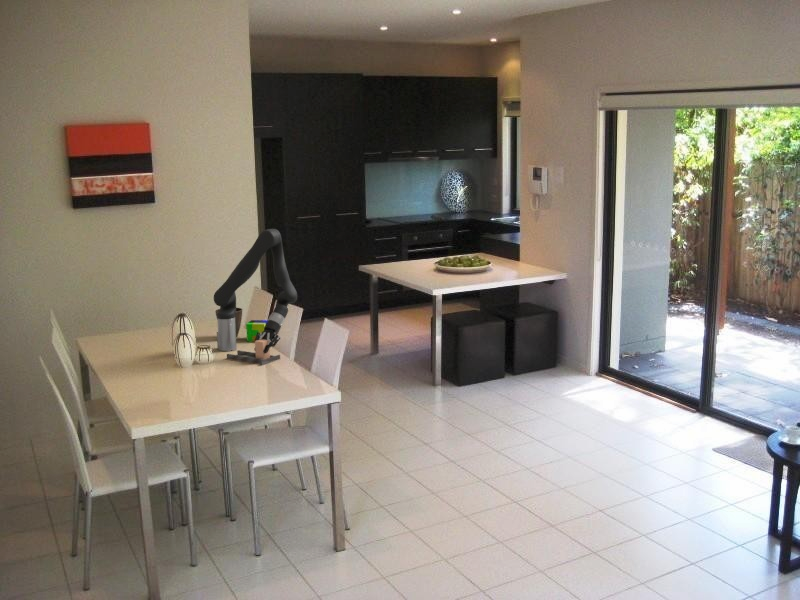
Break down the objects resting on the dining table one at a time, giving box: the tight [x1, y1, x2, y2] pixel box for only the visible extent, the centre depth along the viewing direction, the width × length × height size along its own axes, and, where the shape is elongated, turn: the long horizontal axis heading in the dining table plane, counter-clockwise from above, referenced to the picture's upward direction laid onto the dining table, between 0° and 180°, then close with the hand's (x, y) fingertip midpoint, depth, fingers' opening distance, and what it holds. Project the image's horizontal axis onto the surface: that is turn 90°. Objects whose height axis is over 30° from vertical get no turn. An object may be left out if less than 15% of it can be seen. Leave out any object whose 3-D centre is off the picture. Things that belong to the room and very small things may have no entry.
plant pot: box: [214, 307, 243, 338], centre depth 472 cm, size 15×15×16 cm
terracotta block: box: [254, 339, 271, 360], centre depth 417 cm, size 5×5×9 cm
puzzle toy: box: [245, 319, 268, 341], centre depth 468 cm, size 10×10×10 cm
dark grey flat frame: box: [224, 350, 281, 366], centre depth 421 cm, size 25×14×4 cm, turn 60°
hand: (260, 351), depth 415 cm, fingers closed on terracotta block, 5 cm apart
